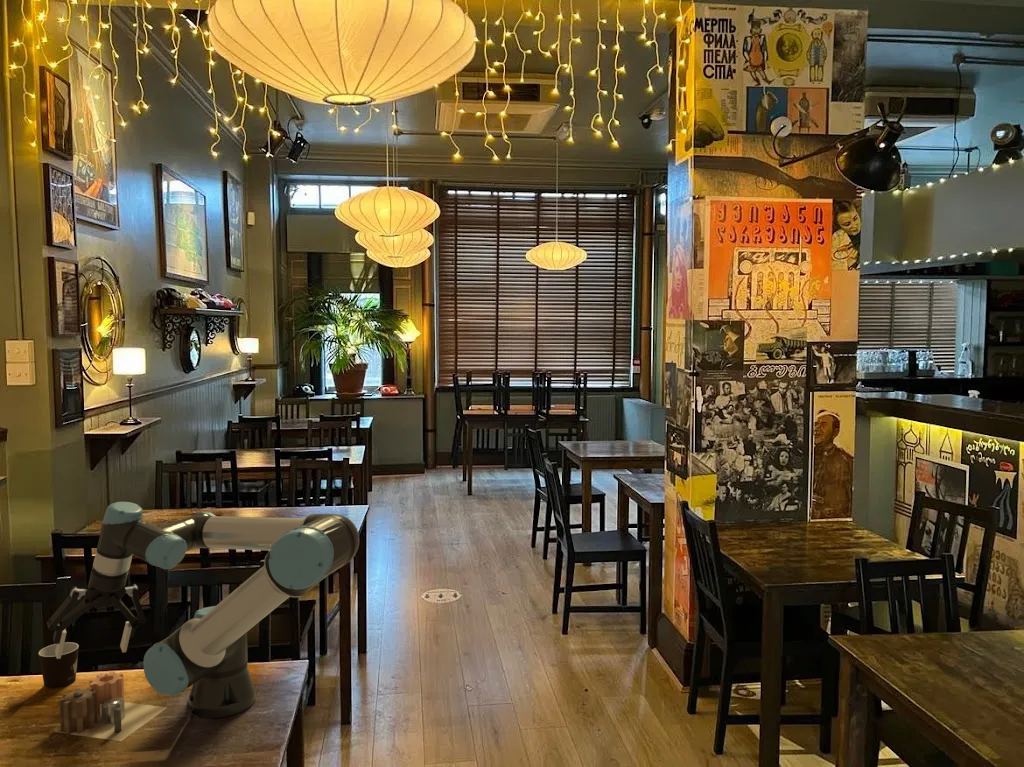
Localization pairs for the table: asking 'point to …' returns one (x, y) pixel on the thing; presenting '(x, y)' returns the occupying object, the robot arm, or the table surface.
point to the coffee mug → (59, 665)
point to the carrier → (122, 722)
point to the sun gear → (111, 709)
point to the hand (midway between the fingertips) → (91, 652)
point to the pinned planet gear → (78, 711)
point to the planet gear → (107, 687)
